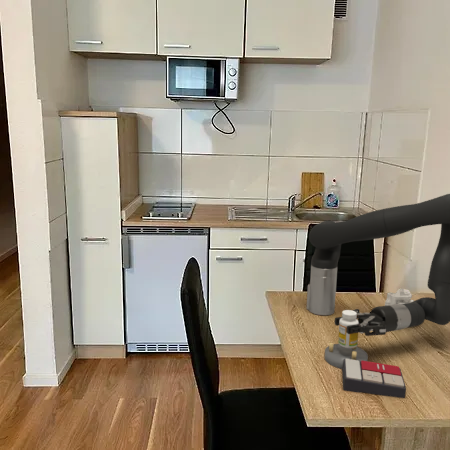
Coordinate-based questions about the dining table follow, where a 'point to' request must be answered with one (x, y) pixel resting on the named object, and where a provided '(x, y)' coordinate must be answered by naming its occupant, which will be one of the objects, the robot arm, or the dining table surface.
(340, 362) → the pin base
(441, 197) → the robot arm
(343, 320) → the supplement bottle
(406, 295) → the mechanical part
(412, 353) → the dining table surface
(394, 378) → the calculator
